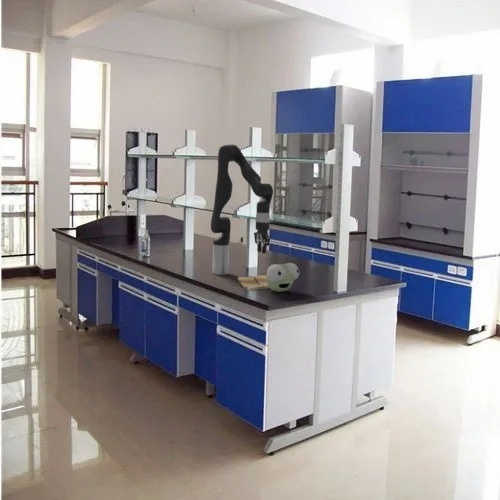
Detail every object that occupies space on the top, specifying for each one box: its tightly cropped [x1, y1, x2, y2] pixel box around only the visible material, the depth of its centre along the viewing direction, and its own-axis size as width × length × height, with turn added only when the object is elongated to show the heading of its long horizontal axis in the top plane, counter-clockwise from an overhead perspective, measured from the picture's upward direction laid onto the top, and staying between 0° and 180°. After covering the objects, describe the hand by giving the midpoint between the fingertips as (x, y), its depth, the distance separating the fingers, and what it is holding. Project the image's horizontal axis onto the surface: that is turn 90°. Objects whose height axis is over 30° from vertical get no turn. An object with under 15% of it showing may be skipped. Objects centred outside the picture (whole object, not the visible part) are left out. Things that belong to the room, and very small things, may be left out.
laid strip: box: [244, 284, 271, 291], centre depth 314 cm, size 5×18×1 cm, turn 121°
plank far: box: [252, 274, 267, 285], centre depth 322 cm, size 8×8×1 cm
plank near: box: [237, 275, 259, 289], centre depth 317 cm, size 8×8×1 cm
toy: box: [265, 262, 300, 293], centre depth 305 cm, size 18×15×15 cm
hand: (261, 252), depth 322 cm, fingers open, 4 cm apart
